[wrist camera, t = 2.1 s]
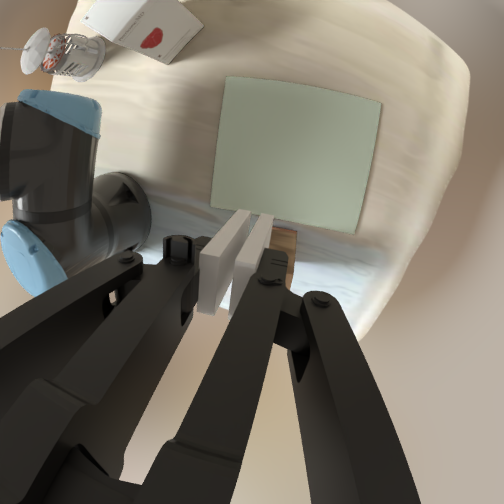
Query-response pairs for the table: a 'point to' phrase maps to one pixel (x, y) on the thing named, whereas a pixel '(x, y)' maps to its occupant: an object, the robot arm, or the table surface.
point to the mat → (294, 152)
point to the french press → (63, 55)
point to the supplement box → (144, 25)
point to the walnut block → (285, 248)
